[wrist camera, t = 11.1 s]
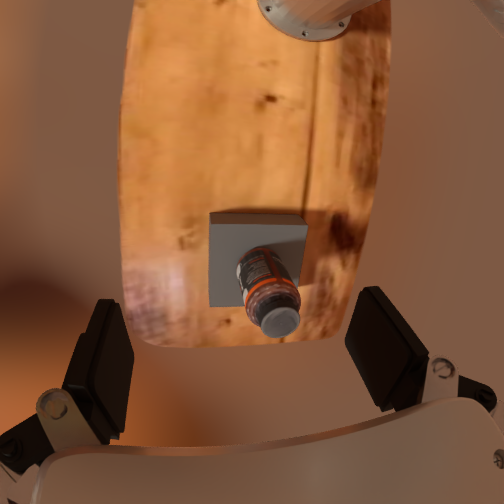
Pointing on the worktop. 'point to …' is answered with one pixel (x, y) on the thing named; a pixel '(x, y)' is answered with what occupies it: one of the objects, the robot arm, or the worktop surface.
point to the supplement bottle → (268, 292)
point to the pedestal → (245, 239)
